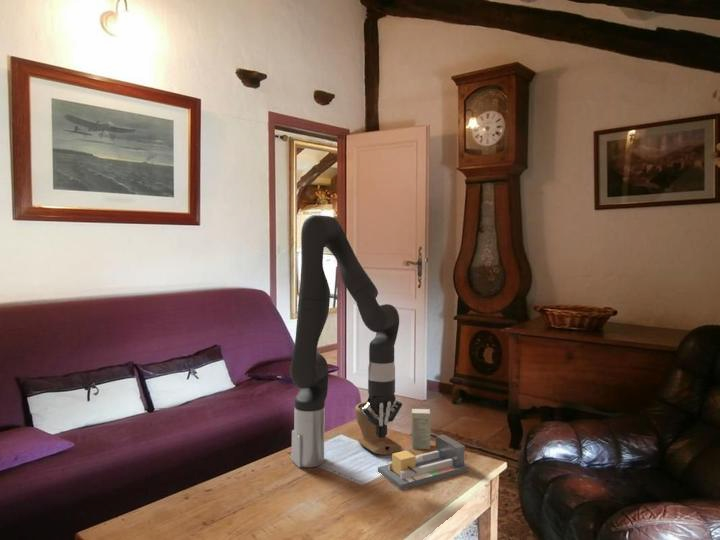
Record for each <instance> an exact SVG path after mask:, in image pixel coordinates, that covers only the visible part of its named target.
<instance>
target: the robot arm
mask: <svg viewBox="0 0 720 540" xmlns="http://www.w3.org/2000/svg"><path fill="white" fill-rule="evenodd" d="M300 232H301V235H300V237H301V238H300V243H301V244H300V246H301V249H300V250H301V252H300V253H301V254H300V255H301V258H300V259H301V260H300V261H301V266H300V268H301V269H300V284H299V292H298V293H299V294H298V302H297V303H298V304H297V318H296V327H295V341H294V346H293V351H292V356H291V361H290V362H291V363H290V367H289V368H290V369H289V370H290V371H289V374H290V379H291V381H292V383H293V384H294V385H295V386H296V387H297V388H299V389H298V392H297V394H296V396H295V397H294V403H293V404H294V405H293V406H294V407H293V408H294V409H293V411H294V415H293V416H294V418H293V421H294V422H293V423H294V424H293V425H294V427H293V429H292V430H291V461H292V462H293V463H294V464H295V465H296V466H297V467H298V468H313V467H319V466H321V465H323V463H324V462H325V414H326V412H325V408H326V407H325V406H326V404H325V403H326V399H327V397H328V389H329V388H328V387H329V386H328V385H329V365H328V362H327V360H326V358H325V357H324V356H323V355H322V354H321V353H318V344H319V341H320V338H321V335H322V333H323V330H324V328H325V325H326V322H327V319H328V316H329V310H330V301H331V288H330V285H329V282H328V279H327V277H326V274H325V270H324V261H323V260H324V251H325V248H327V250H329V251H330V253H331V254H332V255H333V256H334V258H335V260H336V261H337V264H338V267H339V272H340V277H341V279H342V282H343V284H344V286H345V288H346V290H347V291H348V293H349V294H350V295H351V297H352V299H353V300H354V302H355V303H356V306H357V309H358V311H359V314H360V318H361V320H362V323H363V324H364V326H365V327H367V329H368V330H369V331H371V332H372V333H375V336H374V338H373V339H372V340H371V341H370V342H369V347H368V366H367V367H368V369H367V393H368V398H367V400H366V401H367V404H366V405H365V406H364V407H361V408H360V410H361V412H362V413H363V414H364V415H365V417H366V418H367V419H368V420H369V422H371V423H373V424H374V425H376V435H377V436H378V437H379V438H380V439H382V438H385V437H387V435H388V424H389V423H391V422H393V421H395V418H396V416H397V415H398V413H399V412H400V410H401V408H402V406H403V403H402V402H400V401H399V400H398V399H397V398H396V396H395V392H396V365H395V344H396V342H397V341H396V340H397V336H398V333H399V326H400V316H399V315H400V314H399V312H398V310H397V308H396V307H395V306H394V305H393V304H388V303H387V304H386V303H385V304H379V303H378V300H377V299H376V298H377V297H378V295H379V290H378V288H377V287H376V285H375V283H374V282H373V281H372V279H371V278H370V277H369V274H368V273H367V272H366V271H365V269H364V268H363V266H362V265H361V263H360V261H359V260H358V258H357V256H356V254H355V252H354V250H353V248H352V246H351V244H350V242H349V240H348V237H347V236H346V234H345V232H344V229H343V227H342V225H341V224H340V222H339V221H338V220H337V219H336V218H335V217H333V216H329V215H318V214H316V215H315V214H313V215H309V216H308V217H306V218H305V220H304V221H303V222H302V226H301V231H300ZM370 408H371V409H372V410H373V414H374V417H375V418H374V417H373V416H372V414H371V413H370V412H371V409H370Z"/></svg>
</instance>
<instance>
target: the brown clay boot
mask: <svg viewBox="0 0 720 540" xmlns="http://www.w3.org/2000/svg"><path fill="white" fill-rule="evenodd" d="M366 404H367V400H366V401H363V402H360V403H358V404H356V405H355V408H354V416H355V419H356V422H357V425H358V427H359V429H360V433H361V435H360V436H358V437H357V441H358V443H359V444H360V445H361V446H363V447H364V448H365V449H367V450H369V451H371V452H372V453H374V454H377V455H382V456H383V455H384V456H387V455H392V454H393V453H397V452H400V451H401V450H402V448H403V447H402V446H401V445H400V444H398V443H397V442H396V441H394V440H392V439H391V438H389V437H388V436H386V437H385V438H382V439H380V438H379V437H378V436H377V435H376V425H374V424H373V423H371V422H369V420H368V419H367V418H366V417H365V415H364V414H363V413H362V412H361V410H360V408H361V407H364V406H365V405H366ZM370 409H371V408H370ZM370 413H371V414H372V416H373V417H374V414H373V410H372V409H371V412H370ZM374 418H375V417H374Z"/></svg>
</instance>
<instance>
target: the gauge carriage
mask: <svg viewBox="0 0 720 540" xmlns="http://www.w3.org/2000/svg"><path fill="white" fill-rule="evenodd" d="M423 460H424V459H423V456H418V457H416V455H414V454H413V453H411V451H410V452H409V451H408V450H407V449H406V450H402V451H401V450H400V451H397V452H395V453H392V454H391V462H392V470H393V471H394V472H396V473H397V474H398V475H400V471H404V470H408V469H410V470H411V471H413V472H414V473H417V472H416V471H415V470H414V469H412V468H415V463H418V462H422V461H423Z"/></svg>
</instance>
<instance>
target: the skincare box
mask: <svg viewBox="0 0 720 540" xmlns="http://www.w3.org/2000/svg"><path fill="white" fill-rule="evenodd" d="M411 449H413V450H414V449H415V450H431V409H430V408H411Z"/></svg>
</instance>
